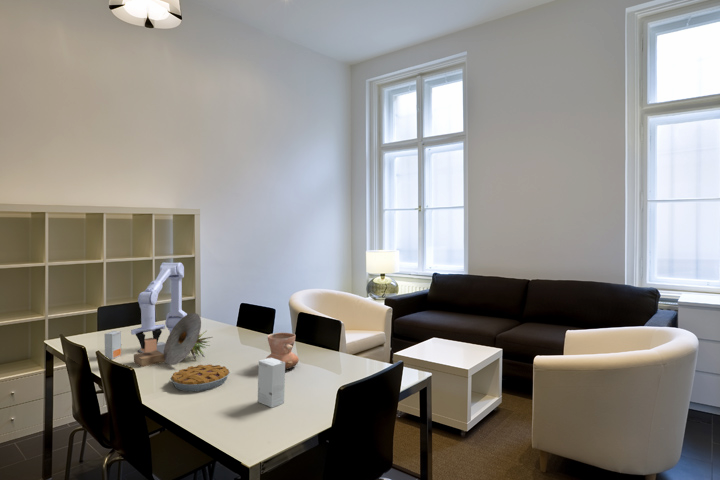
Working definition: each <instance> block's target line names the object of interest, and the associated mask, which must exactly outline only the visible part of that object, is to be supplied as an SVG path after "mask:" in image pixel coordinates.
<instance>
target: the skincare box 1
mask: <svg viewBox="0 0 720 480" xmlns="http://www.w3.org/2000/svg"><path fill="white" fill-rule="evenodd" d="M105 356H106V357H108V358H109V359H108V360H114V359H116V358H119V357H121V356H122V331H117V330H113V331H109V332H107V333H104V357H105Z"/></svg>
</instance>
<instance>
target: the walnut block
mask: <svg viewBox="0 0 720 480" xmlns="http://www.w3.org/2000/svg"><path fill="white" fill-rule="evenodd" d="M133 363H135V364H136V365H137V366H139V367H141V368H143V367H149V366H153V365H157V364H163V363H166V362H165V354H163V353H161V352H159V351H157V350H155V351H151V352H146V353H145V352H144V353H140V352H138V353H134V354H133Z"/></svg>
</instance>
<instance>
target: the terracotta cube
mask: <svg viewBox="0 0 720 480" xmlns="http://www.w3.org/2000/svg"><path fill="white" fill-rule="evenodd" d="M140 350H141V351H143V352H145V353H146V352H151V351H155V350H157V339H154V338H153V337H148V338H145V348H144V349H142V348H141V347H140Z"/></svg>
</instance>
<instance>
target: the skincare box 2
mask: <svg viewBox="0 0 720 480" xmlns="http://www.w3.org/2000/svg"><path fill="white" fill-rule="evenodd" d="M266 358H267V357H266ZM266 358H264V359H259V360H258V370H257V371H258V372H257V374H258V376H257V378H258V379H257V402H258V404H259V403H260V404H263V405H264V406H267V407H269V408H275V407H277V406H280V405H282V404H285V389H286V388H285V386H286V385H285V383H286V382H285V381H286V379H285V377H286V370H285V362H282V361H280V360H277V359H274V358H267V359H266Z"/></svg>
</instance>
